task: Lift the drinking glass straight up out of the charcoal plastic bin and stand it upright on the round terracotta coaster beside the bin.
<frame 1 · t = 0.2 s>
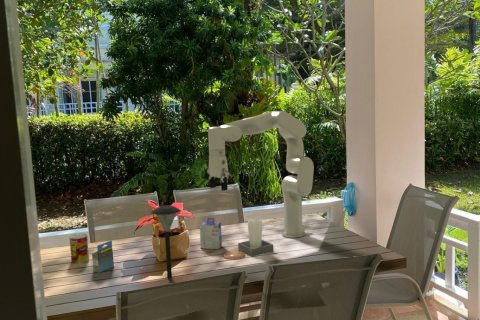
hand: (218, 188, 225), 31 cm above the table, tool pointing down, fingers open, 9 cm apart
drinking glass: (255, 251, 228), resting in bin
label tape cartridge: (103, 269, 210), on the table
solar garden light: (169, 277, 197), on the table
ink cartridge box: (211, 247, 236), on the table
bin: (255, 250, 228), on the table
canned food: (80, 261, 222), on the table
coaster: (234, 255, 221), on the table
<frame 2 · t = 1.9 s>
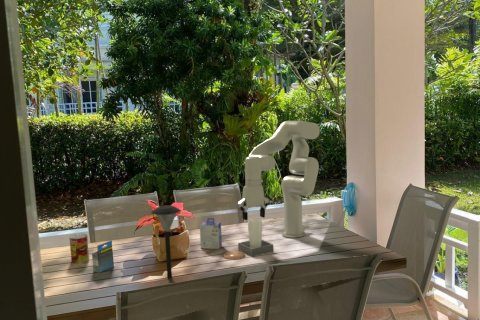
hand: (253, 218, 225), 16 cm above the table, tool pointing down, fingers open, 9 cm apart
nothing on the table moved.
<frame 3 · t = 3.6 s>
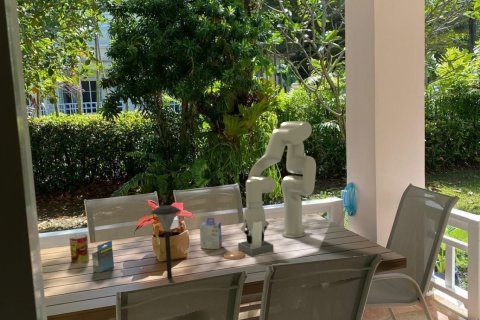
hand: (255, 241, 227), 5 cm above the table, tool pointing down, fingers closed on drinking glass, 6 cm apart
drinking glass: (255, 251, 228), resting in bin, touching gripper
everything else where it was.
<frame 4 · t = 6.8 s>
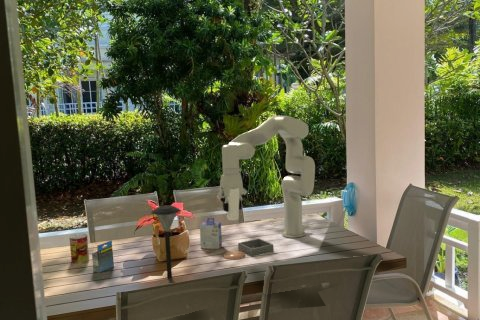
hand: (232, 209, 219), 22 cm above the table, tool pointing down, fingers closed on drinking glass, 6 cm apart
drinking glass: (233, 219, 219), point 17 cm above the table, touching gripper
everything else where it was.
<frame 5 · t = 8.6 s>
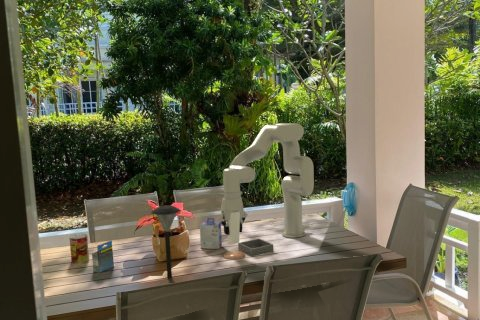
hand: (233, 232, 220), 11 cm above the table, tool pointing down, fingers closed on drinking glass, 6 cm apart
drinking glass: (233, 242, 221), point 6 cm above the table, touching gripper
everything else where it was.
when the fingers open (6 cm above the table, at t = 10.1 s): drinking glass moves 1 cm, resting on coaster.
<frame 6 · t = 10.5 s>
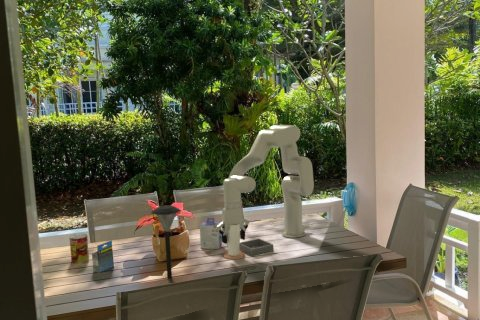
hand: (233, 241, 221), 7 cm above the table, tool pointing down, fingers open, 9 cm apart
drinking glass: (233, 255, 221), resting on coaster
everything else where it was.
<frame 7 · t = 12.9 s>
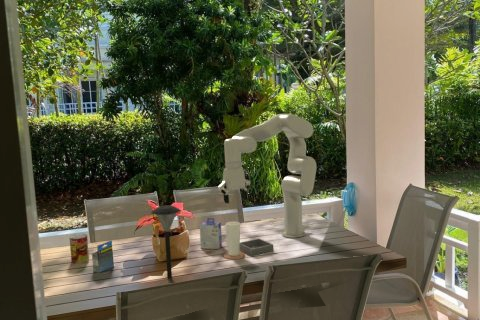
hand: (235, 201, 223), 25 cm above the table, tool pointing down, fingers open, 9 cm apart
nothing on the table moved.
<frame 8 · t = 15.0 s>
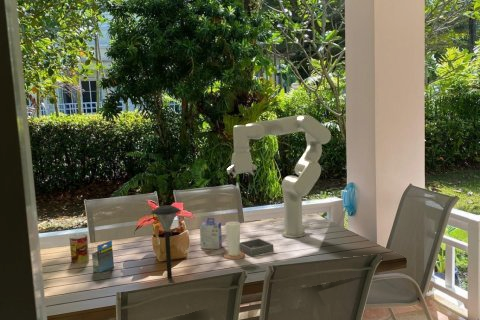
hand: (242, 184, 237), 30 cm above the table, tool pointing down, fingers open, 9 cm apart
nothing on the table moved.
at the end: drinking glass 0.2 cm off-centre on the coaster, point 0.4 cm above the coaster's base; drinking glass tilted 0°; the gripper is holding nothing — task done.
